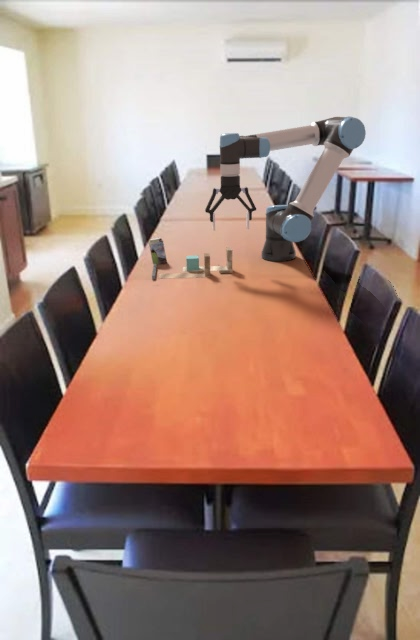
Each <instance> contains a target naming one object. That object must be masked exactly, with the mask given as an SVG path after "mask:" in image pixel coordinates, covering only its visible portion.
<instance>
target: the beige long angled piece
mask: <svg viewBox="0 0 420 640" xmlns="http://www.w3.org/2000/svg"><path fill="white" fill-rule="evenodd" d="M225 249H226V254H225V255H226V256H225V257H226V265H213V266H212V265H210V272H217V271H219V274H225V273H226V274H230V273H232V274H233V249H232V247H230V246H229V247H226V248H225ZM197 272H205V265H204V266H199V270H198V271H197ZM182 273H192V271H187V266H183V267H182Z"/></svg>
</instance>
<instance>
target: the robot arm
mask: <svg viewBox="0 0 420 640" xmlns="http://www.w3.org/2000/svg"><path fill="white" fill-rule="evenodd" d="M366 134H367V133H366V127H365V125H364V123H363V122H362V121H361V120H360V119H359V118H358V117H353V116H333V117H329V118H325V119H322V120H319V121H317V120H316V121H313V122H310V124H308V125H305V126H304V125H303V126H297V127H292V128H286V129H280V130H273V131H266V132H261V133H255V134H250V135H240V134H239V133H237V132H233V133H232V132H230V133H229V132H226V133H222V134H220V136H219V158H220V162H219V164H220V165H219V166H220V168H219V169H220V170H219V172H220V187H219V188H216V187H213V188H212V194H211V196H210V198H209V201H208V203H207V204H206V207H205V208H204V209H205V210H204V212H205V213H207V214H209V221H210V223H212V230H213V231H214V232H215V231H216V214H215V211H216V210H217V209H218V208H219V206H220V205H221V204H222V203H223V202H224V201H225V200H226V201H229V200H236V199H237V200H238V201H239V202H240V203H241V205H242V206H243V207H244V208H245V209H246V210H247V211H246V212H245V213H246V216H245V218H246V219H245V221H246V223H245V224H246V229H247V230H249V229H250V221H252V218H253V216H252V214H253V212H255V211H257V207H256V205H255V203H254V202H253V199H252V197H251V194H250V193H249V188H248V187H247V186H244V187H241V176H240V173H241V171H240V170H241V168H240V167H241V165H240V164H241V162H240V161H241V159H257V158H258V159H262V158H267V157H268V156H269V155H270V154H271V153H270V152H273V151H279V150H285V149H291V148H296V147H302V146H309V145H312V146H314V147H317V146H324V149H323V150H322V153H321V154H320V156H319V158H318V159H317V162H316V163H315V165H314V167H313V168H312V170H311V172H310V173H309V176H308V177H307V179H306V181H305V183H304V184H303V185H302V188H301V189H300V191H299V193H298V194H297V196H296V198H295V200H294V201H291V202H289V203H288V204H277V205H276V204H275V205H269V206H267V207H266V212H265V240H264V244H263V246H262V250H261V255H260V257H261V259H263V260H265V261H272V262H286V260H288V261H292V260H291V259H293V260H295V259H296V258H295V257H296V255H297V252H296V249H295V246H294V245H295V244H294V243H300V242H302V241H304V240H306V239H307V238H308V236H309V235H310V234H311V231H312V221H313V220H314V217H315V215H314V210H315V208H316V206H318V203H319V202H320V200H321V198H322V196H323V194H324V193H325V191H326V189H327V188H328V186H329V184H330V183H331V181H332V180H333V178H334V176H335V174H336V172H337V171H338V169H339V167H340V166H341V164H342V162H343V160H344V159H346V158H350V157H351V156H350V155H351V154H352V152H353V151H354V149H357V148H359V147H360V146H361V145H362V144H363V143H364V141H365V139H366ZM241 192H242V193H243V194H244V195H245V196H246V198H247V200H248V203H249V205H250V206H249V205H248V204H247V203H246V202H245V201H244V199H243V198H242V197H241V196H240V194H241ZM219 193H220V194H221V196H220V197H219V199H218V200H217V201H216V202H215V204H213V203H214V201H215V198H216V196H217V195H218V194H219ZM212 204H213V206H212ZM211 207H212V208H211ZM294 258H295V259H294Z"/></svg>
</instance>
